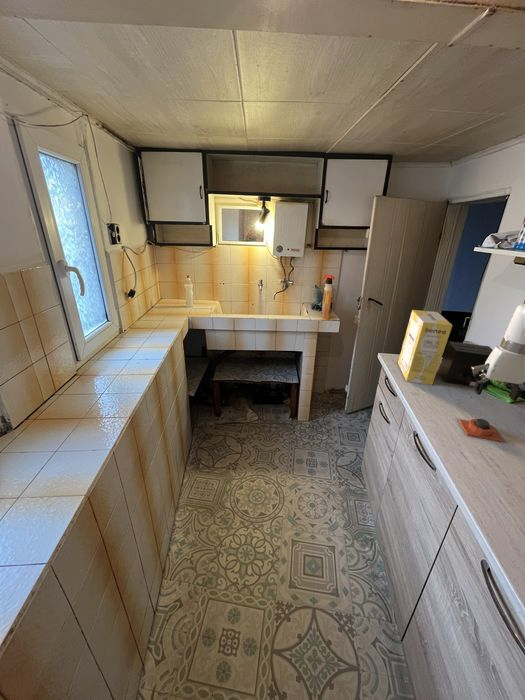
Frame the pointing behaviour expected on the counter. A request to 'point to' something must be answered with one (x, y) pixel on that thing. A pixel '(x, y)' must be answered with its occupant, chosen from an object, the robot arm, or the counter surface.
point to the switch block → (479, 430)
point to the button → (482, 424)
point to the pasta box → (423, 346)
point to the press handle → (470, 380)
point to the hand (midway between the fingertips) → (494, 395)
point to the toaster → (462, 362)
